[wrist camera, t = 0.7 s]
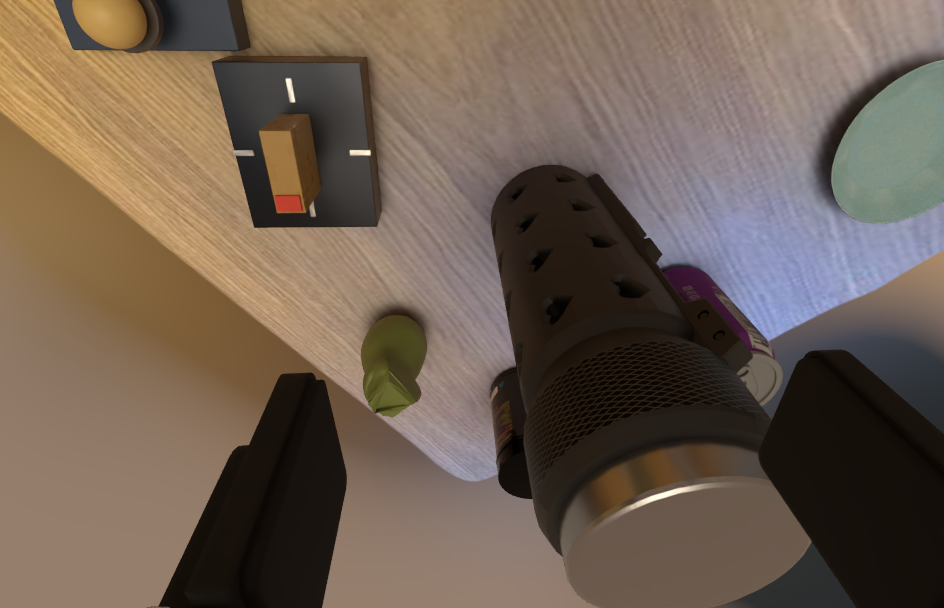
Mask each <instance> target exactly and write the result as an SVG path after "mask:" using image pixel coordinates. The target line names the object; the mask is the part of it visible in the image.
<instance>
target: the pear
mask: <svg viewBox="0 0 944 608" xmlns="http://www.w3.org/2000/svg"><path fill="white" fill-rule="evenodd" d="M426 352H427V340H426V336H425V334H424V332H423V330H422V329H421V327H420V326H419V325H418V324H417V323H416V322H415V321H414V320H412V319H410V318H408V317H406V316H402V315H391V316H387V317H385V318H382V319H381V320H379V321H378V322H376V323H375V324H374V325H373V326H372V327H371V329H370V330H369V331H368V333H367V335H366V336H365V339H364V341H363V344H362V349H361V361H362V366H363V370H364V373H365V374H364V379H363V390H364V394H365V397H366V399H367V401H368V402H369V404H368V405H369V406H370V407H371V408H372V410H373V411H374V413H377V412H379V413H381V414H382V415H383V416H389V417H394V416H396V415H398V414H399V413H400V412H401V411H402V410H404V409H405V408H407V407H408V406H410V405H412V404H414V403H415V402H417V401H418V400H419V399H420V397H421V390H420V388H419V386H418V384H417V382H416V381H415V379H416V378H417V376H418V375H419V373H420V371H421V368H422V366H423V363H424V360H425V356H426Z"/></svg>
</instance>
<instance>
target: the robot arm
mask: <svg viewBox="0 0 944 608" xmlns="http://www.w3.org/2000/svg"><path fill="white" fill-rule="evenodd" d="M758 457H759V462H760V465H761V467H762V469H763V471H764V472H765V473H766V475H767V476H768V478H769V479H770V481H771V482H772V484H773V485H774V487H775V488H776V490H777V491H778V493H779V494H780V496H781V497H782V498H783V500H784V501H785V503H786V504H787V506H788V507H789V509H790V510H791V512H792V513H793V515H794V516H795V518H796V519H797V521H798V522H799V523H800V525H801V526H802V528H803V529H804V531H805V532H806V534H807V535H808V537H809V538H810V540H811V541H812V543H813V544H814V546H815V547H816V548H817V550H818V551H819V553H820V554H821V556H822V557H823V559H824V560H825V562H826V563H827V565H828V566H829V568H830V569H831V571H832V572H833V573H834V575H835V576H836V578H837V579H838V581H839V582H840V584H841V585H842V587H843V588H844V589H845V591H846V592H847V594H848V595H849V597H850V598H851V600H852V601H853V603H854V604H855V606H856V607H857V608H944V434H943V433H942V432H941V431H940V430H938V429H937V428H936V427H935V426H934V425H933V424H931V423H930V422H929V421H928V420H927V419H926V418H924V417H923V416H922V415H921V414H920V413H919V412H918V411H916V410H915V409H914V408H913V407H912V406H911V405H910V404H908V403H907V402H906V401H905V400H904V399H903V398H901V397H900V396H899V395H898V394H897V393H896V392H895V391H893V390H892V389H891V388H890V387H889V386H888V385H886V384H885V383H884V382H883V381H882V380H881V379H879V378H878V377H877V376H876V375H875V374H874V373H873V372H871V371H870V370H869V369H868V368H867V367H866V366H865V365H863V364H862V363H861V362H860V361H859V360H857V359H856V358H855V357H854V356H853V355H852V354H850V353H849V352H847V351H845V350H820V351H819V350H818V351H810V352H809V353H807V354H806V355H805V357H804V358H803V359H801V360H799V361H798V363H797V364H796V367H795V369H794V371H793V373H792V375H791V378H790V380H789V382H788V385H787V387H786V389H785V392H784V394H783V396H782V398H781V401H780V403H779V405H778V408H777V410H776V412H775V414H774V417H773V419H772V421H771V424H770V426H769V428H768V431H767V433H766V435H765V437H764V440H763V442H762V444H761V447H760V449H759V454H758ZM346 484H347V475H346V469H345V464H344V460H343V456H342V452H341V448H340V443H339V439H338V434H337V430H336V426H335V421H334V417H333V413H332V409H331V404H330V400H329V396H328V392H327V387H326V384H325V381H324V380H316V378H315V376H314V374H313V373H293V374H282V375H280V377H279V379H278V381H277V383H276V385H275V387H274V390H273V392H272V394H271V396H270V399H269V401H268V403H267V406H266V408H265V410H264V412H263V415H262V417H261V419H260V421H259V424H258V426H257V428H256V430H255V433H254V435H253V437H252V440H251V442H250V444H249V445H245V446H238V447H237V448H236V449H235V450H234V451H233V452H232V454H231V455H230V457H229V459H228V461H227V463H226V465H225V467H224V469H223V471H222V474H221V476H220V478H219V480H218V482H217V484H216V486H215V488H214V490H213V493H212V495H211V497H210V499H209V501H208V503H207V505H206V507H205V510H204V511H203V514H202V516H201V518H200V520H199V522H198V524H197V526H196V528H195V530H194V532H193V535H192V537H191V539H190V541H189V543H188V545H187V547H186V549H185V552H184V554H183V556H182V558H181V560H180V562H179V564H178V566H177V568H176V571H175V573H174V575H173V577H172V579H171V581H170V583H169V585H168V588H167V589H166V592H165V594H164V596H163V598H162V600H161V602H160V604H159V606H158V607H153V606H152V607H148V608H322V605H323V600H324V594H325V590H326V584H327V580H328V575H329V570H330V565H331V560H332V555H333V551H334V545H335V541H336V536H337V531H338V525H339V521H340V516H341V511H342V506H343V501H344V496H345V492H346Z"/></svg>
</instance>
